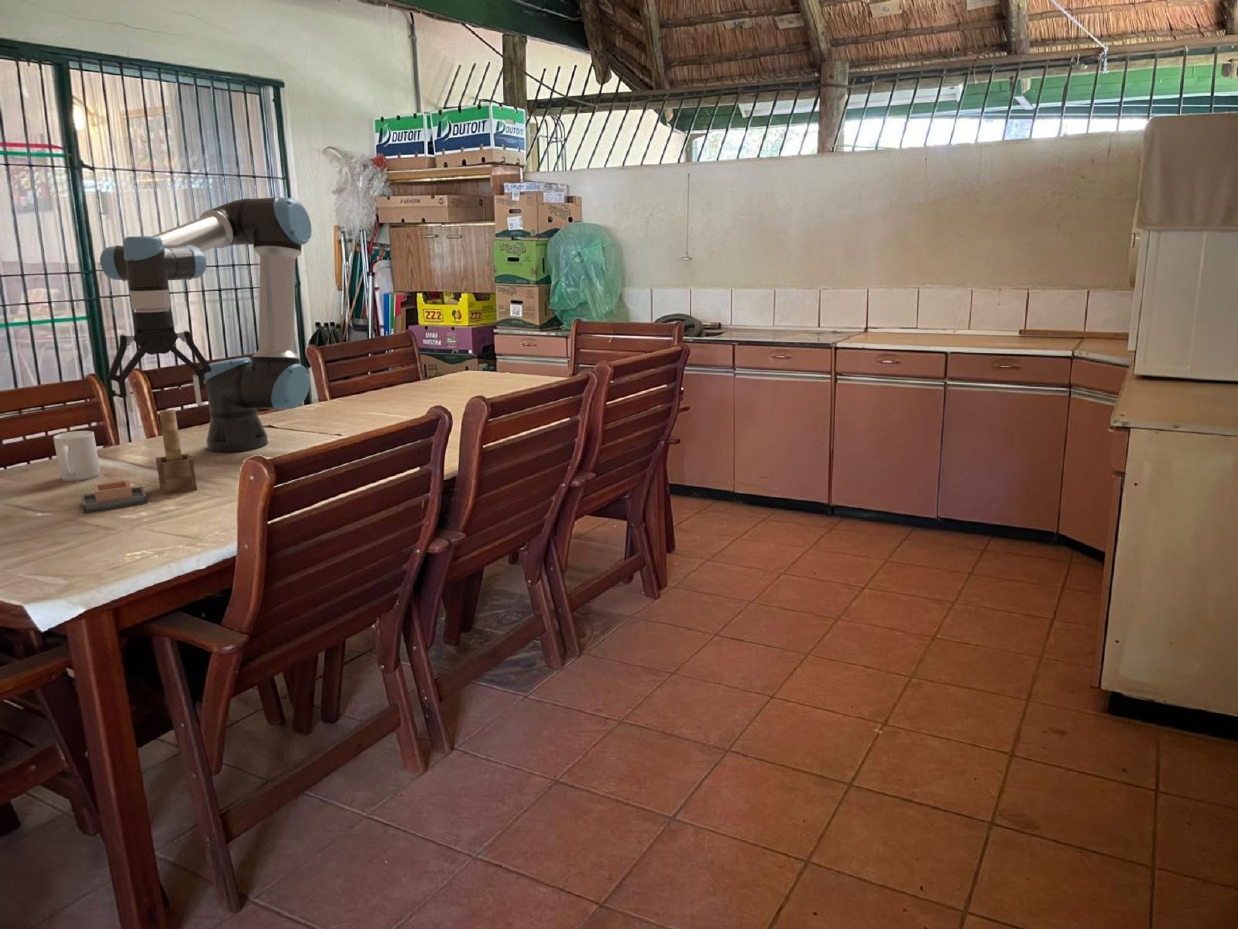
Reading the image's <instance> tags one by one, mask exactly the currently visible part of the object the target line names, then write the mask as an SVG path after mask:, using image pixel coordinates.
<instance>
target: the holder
mask: <svg viewBox="0 0 1238 929" xmlns="http://www.w3.org/2000/svg"><path fill="white" fill-rule="evenodd" d="M92 487H93V492H94V493H93V494H95V499H96V503H100V502H106V501H113V500H119V499H126V498H133V495H132V489H131V488H132V486H131V483H130V480H129V479H126V480H118V481H112V482H104V483H97V484H93V485H92Z"/></svg>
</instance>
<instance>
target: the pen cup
mask: <svg viewBox="0 0 1238 929" xmlns="http://www.w3.org/2000/svg"><path fill="white" fill-rule="evenodd" d="M181 454H182V460H180V461H172V462H167V461H166V456H161V457H156V458H155V462H156V468H157V475H158V481H159V488H160V490H161V492H162V495H170V494H179V493H184V492H185V493H187V492H191V491H197V490H198V487H197V486H198V485H197V480H196V479H197V478H196V472H195V466H194V460H193V458H192V456H191V455H190V453H181Z"/></svg>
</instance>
